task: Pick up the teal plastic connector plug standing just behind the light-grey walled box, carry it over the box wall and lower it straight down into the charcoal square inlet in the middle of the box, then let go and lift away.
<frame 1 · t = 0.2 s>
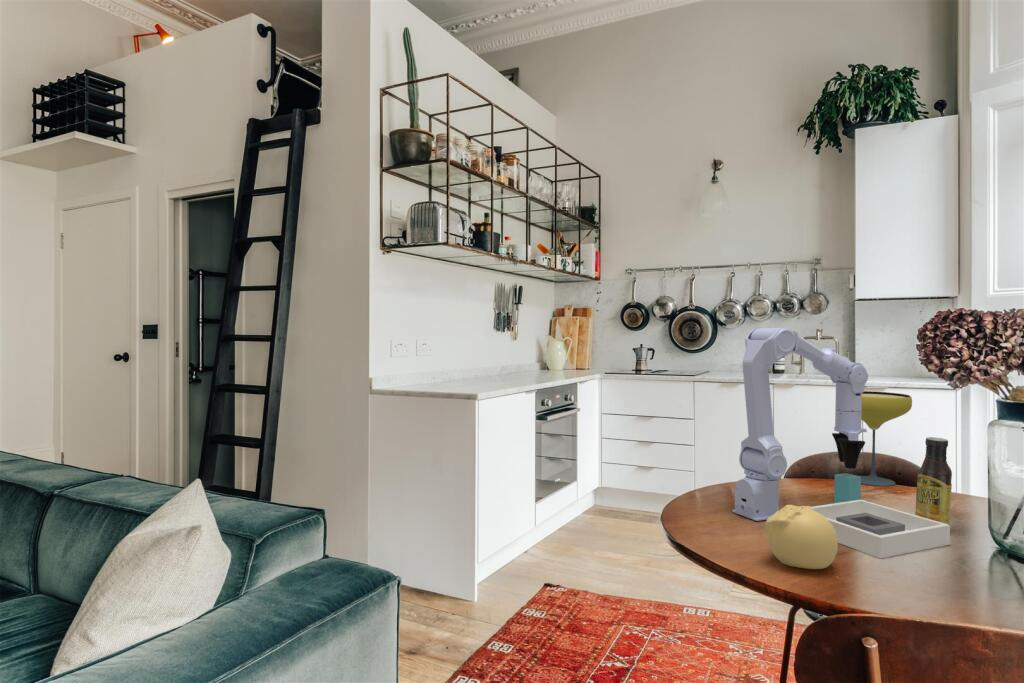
hand: (847, 465, 153), 10 cm above the table, fingers open, 7 cm apart
sauce bottle: (932, 529, 135), on the table
connector: (847, 508, 150), on the table
cocktail glass: (873, 482, 176), on the table
sculpture: (800, 564, 115), on the table
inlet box: (869, 535, 130), on the table
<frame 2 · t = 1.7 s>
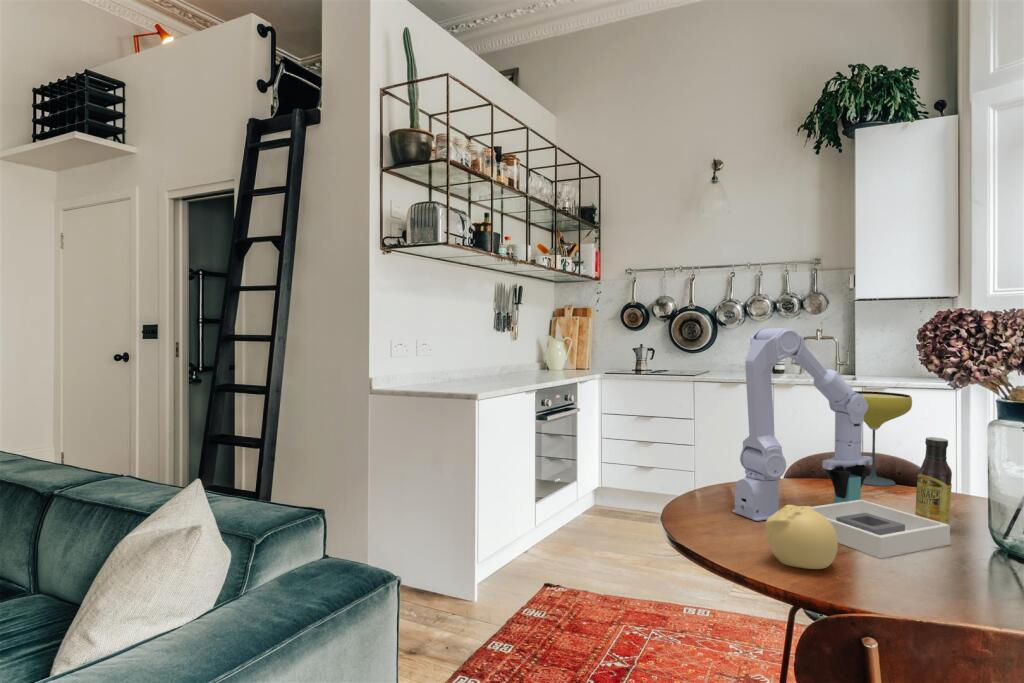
hand: (847, 496, 150), 3 cm above the table, fingers closed on connector, 4 cm apart
connector: (847, 508, 150), on the table, touching gripper
everything else where it was.
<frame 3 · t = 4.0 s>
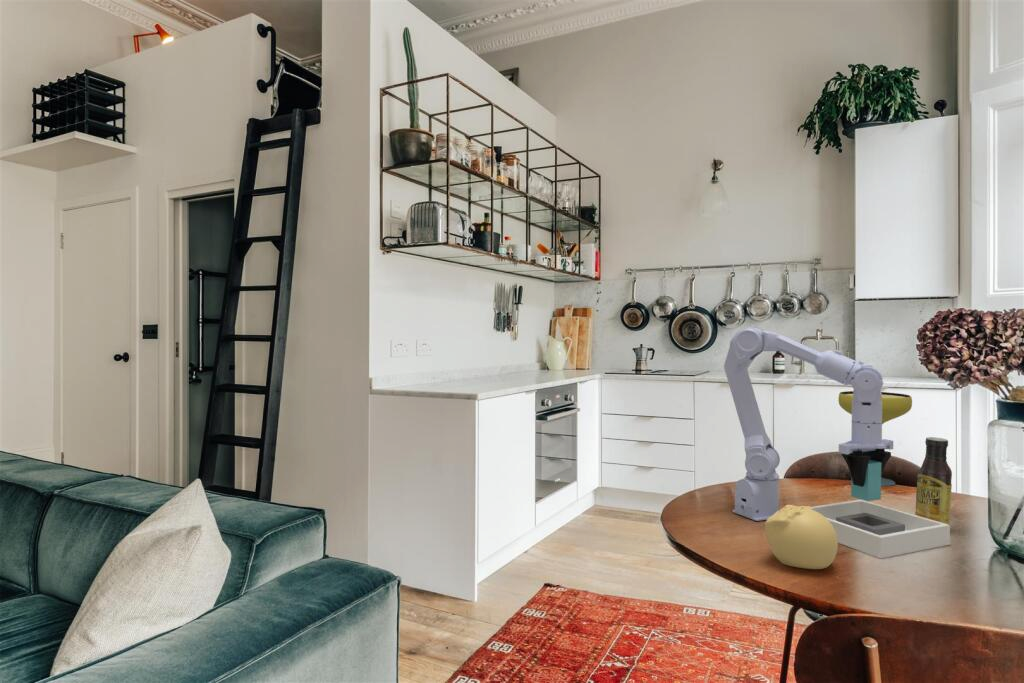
hand: (865, 484, 134), 10 cm above the table, fingers closed on connector, 4 cm apart
connector: (865, 497, 134), point 7 cm above the table, touching gripper
everything else where it was.
when the fingers open (4 cm above the table, at t = 6.1 s): connector stays where it is, resting on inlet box.
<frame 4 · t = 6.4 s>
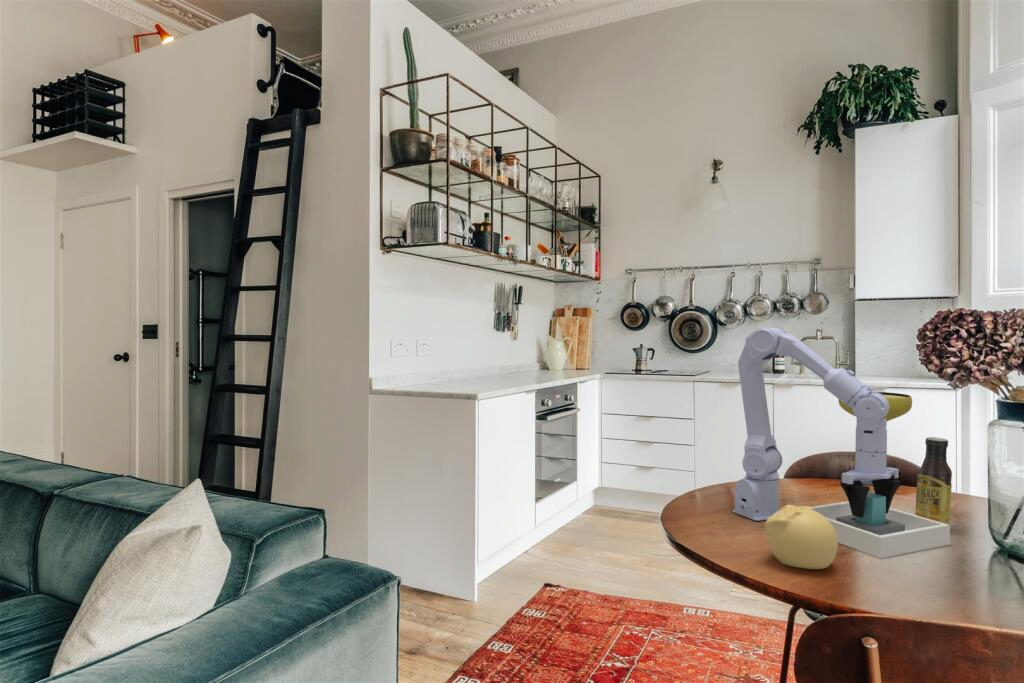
hand: (870, 514, 130), 5 cm above the table, fingers open, 7 cm apart
connector: (869, 532, 130), point 1 cm above the table, touching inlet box
everything else where it was.
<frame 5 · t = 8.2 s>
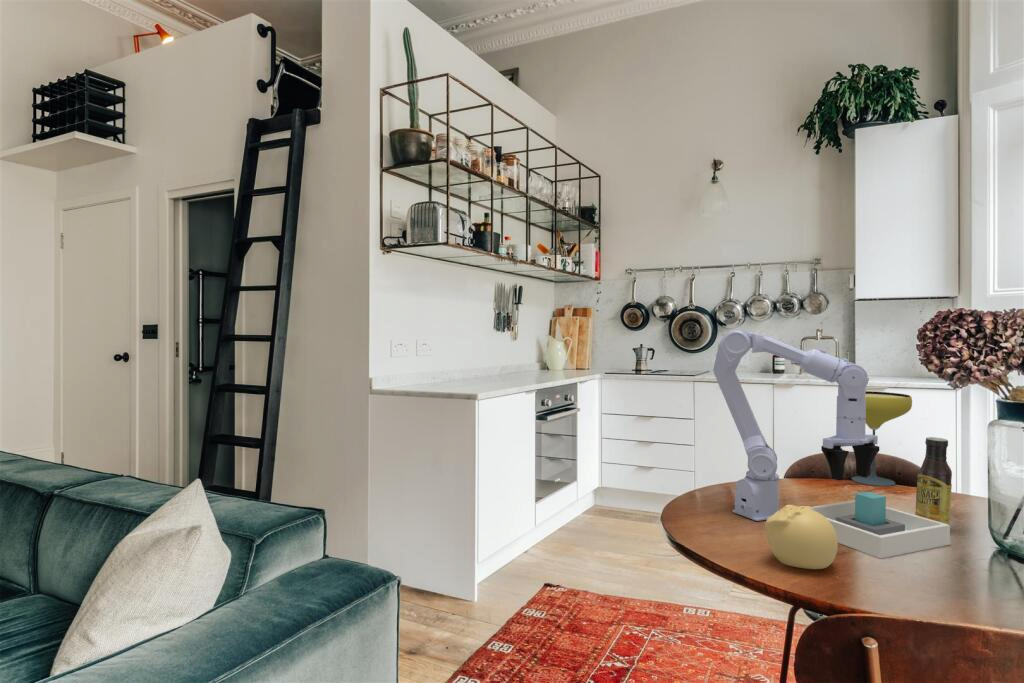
hand: (849, 478, 138), 10 cm above the table, fingers open, 7 cm apart
nothing on the table moved.
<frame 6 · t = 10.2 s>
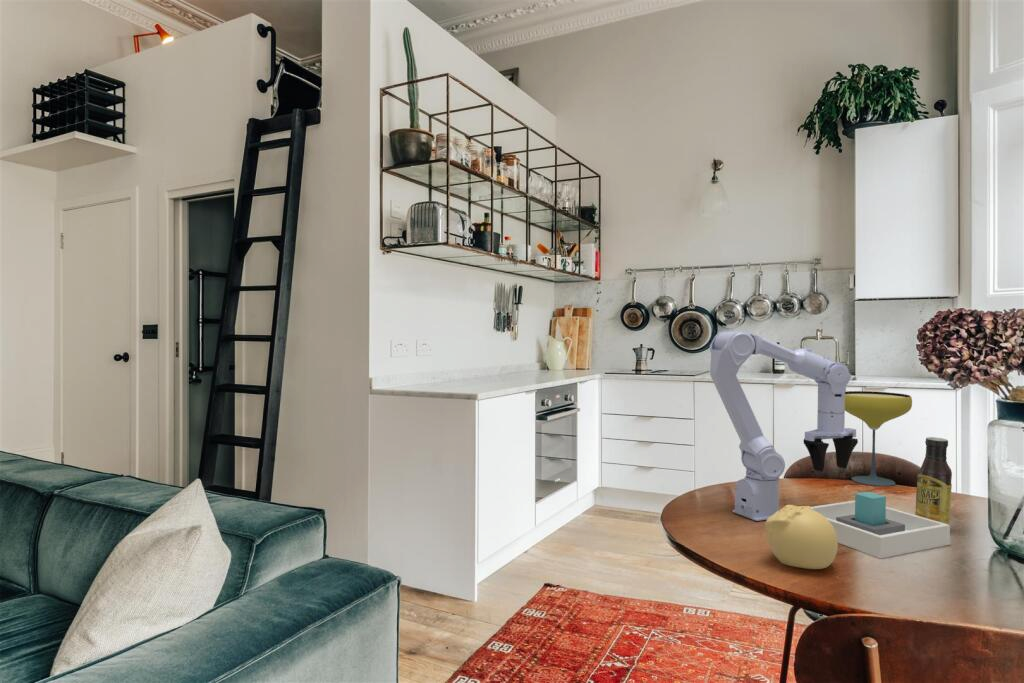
hand: (830, 469, 146), 10 cm above the table, fingers open, 7 cm apart
nothing on the table moved.
at the end: connector 0.0 cm off-centre on the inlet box, point 0.6 cm above the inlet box's base; connector tilted 0°; the gripper is holding nothing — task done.
